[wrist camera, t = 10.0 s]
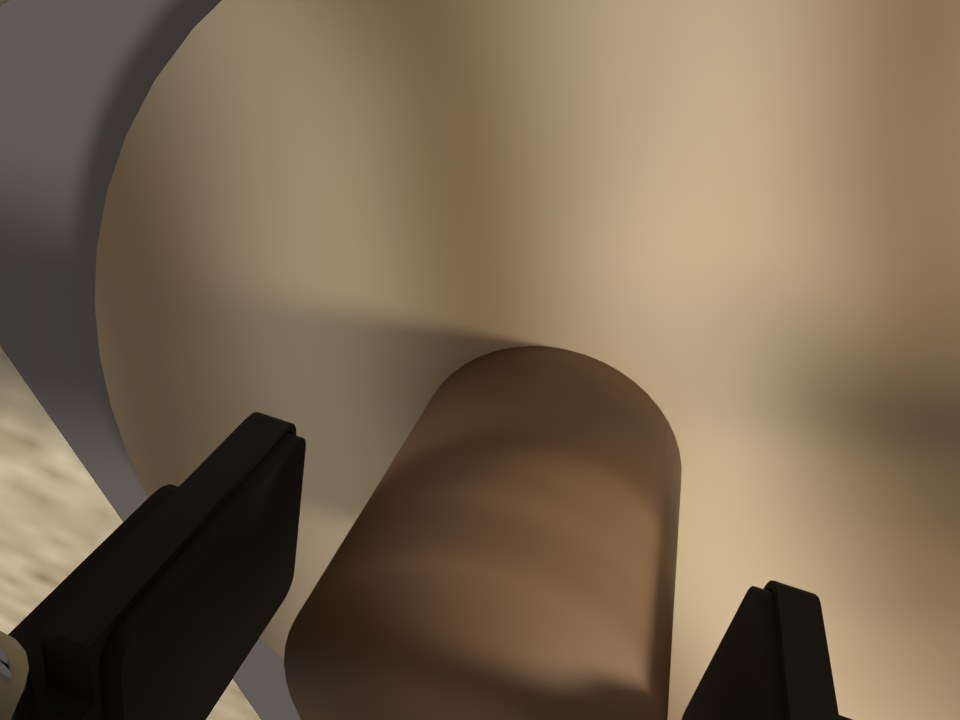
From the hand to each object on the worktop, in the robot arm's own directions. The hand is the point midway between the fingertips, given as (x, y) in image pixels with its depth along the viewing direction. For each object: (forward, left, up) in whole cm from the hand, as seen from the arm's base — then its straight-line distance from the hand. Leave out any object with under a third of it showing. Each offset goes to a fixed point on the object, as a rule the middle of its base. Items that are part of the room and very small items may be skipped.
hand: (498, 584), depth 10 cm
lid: (0, 0, -4) cm, 4 cm away
